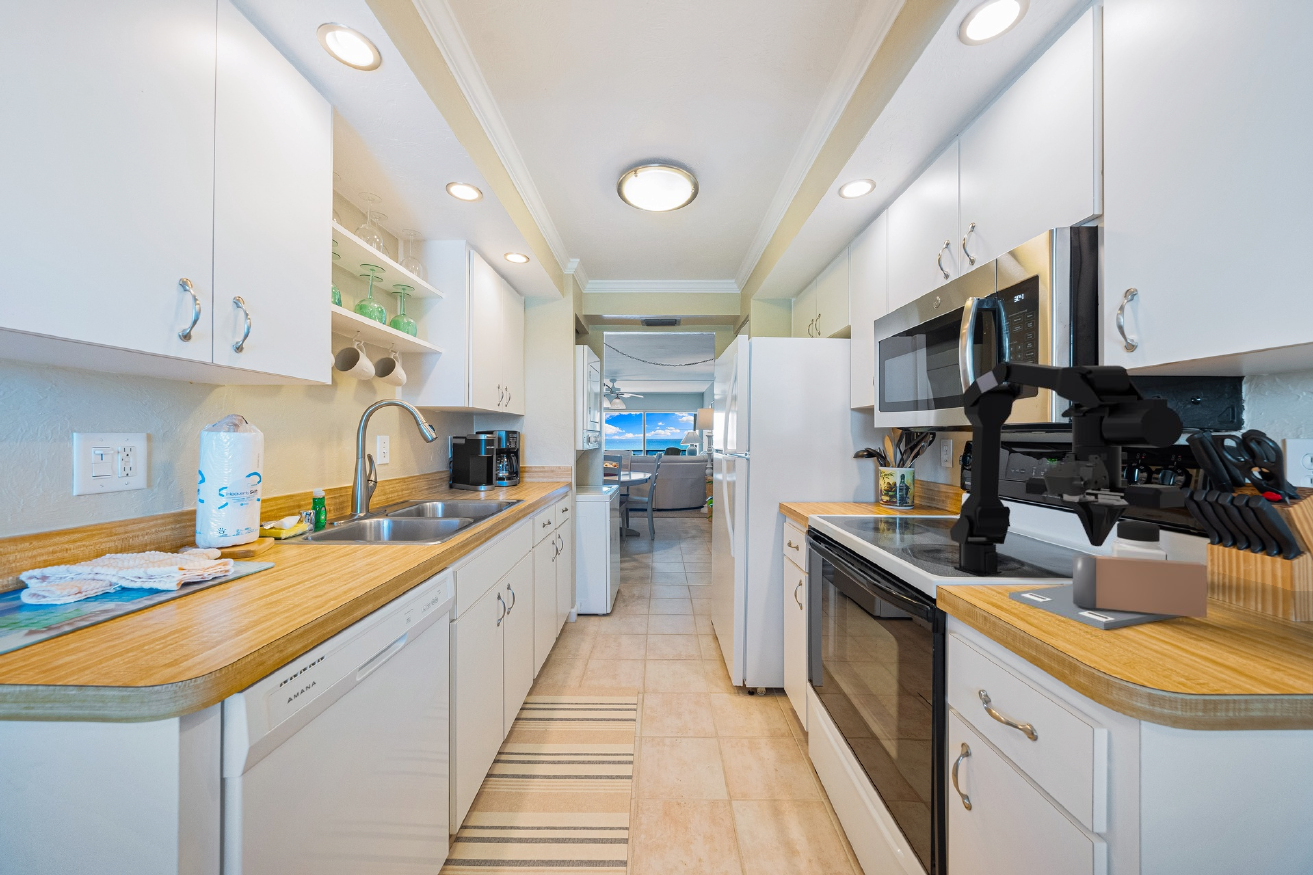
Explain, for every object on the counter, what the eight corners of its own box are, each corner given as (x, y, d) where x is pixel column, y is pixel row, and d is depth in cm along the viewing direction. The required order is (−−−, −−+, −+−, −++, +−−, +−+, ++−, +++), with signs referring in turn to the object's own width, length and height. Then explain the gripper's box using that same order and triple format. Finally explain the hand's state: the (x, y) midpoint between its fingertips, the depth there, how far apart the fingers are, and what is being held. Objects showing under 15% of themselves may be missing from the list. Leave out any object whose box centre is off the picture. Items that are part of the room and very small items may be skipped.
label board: (1008, 598, 90) (1008, 591, 90) (1086, 587, 95) (1086, 581, 95) (1103, 629, 75) (1103, 621, 75) (1188, 615, 81) (1188, 607, 81)
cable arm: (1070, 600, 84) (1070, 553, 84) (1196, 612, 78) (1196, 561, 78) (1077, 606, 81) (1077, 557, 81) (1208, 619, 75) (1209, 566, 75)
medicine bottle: (1167, 591, 93) (1167, 526, 93) (1115, 584, 97) (1115, 522, 97) (1159, 581, 99) (1159, 521, 98) (1110, 575, 103) (1111, 517, 103)
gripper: (1000, 445, 85) (1000, 537, 85) (1131, 448, 67) (1132, 565, 67) (1048, 444, 88) (1049, 533, 88) (1187, 447, 70) (1187, 558, 70)
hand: (1096, 545), depth 78 cm, fingers closed
